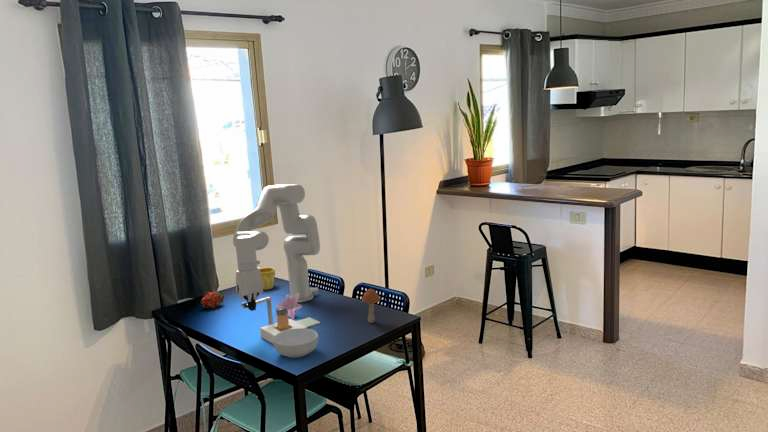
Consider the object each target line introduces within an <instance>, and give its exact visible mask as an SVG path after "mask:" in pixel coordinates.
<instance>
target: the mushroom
mask: <svg viewBox="0 0 768 432" xmlns="http://www.w3.org/2000/svg"><path fill="white" fill-rule="evenodd" d="M380 301H381V298H380V296H379V294H378V292H377V291H376V290H374V289H373V288H369V289H367V290H366V291H365V293H364V294H363V295H362V298H361V302H363V303H365V304H368V315H367V322H368V323H370V324H374V322H375V321H376V320H375V303H379V302H380Z"/></svg>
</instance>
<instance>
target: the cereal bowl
mask: <svg viewBox="0 0 768 432" xmlns="http://www.w3.org/2000/svg"><path fill="white" fill-rule="evenodd" d="M318 343H319V334H318V332H317V331H316V330H314V329H310V328H307V329H305V328H297V329H290V330H286V331H282V332H280V333H278V334H277V335H275V336H274V338H273V348H274V350H275V351H276V352H277V353H278V354H280V355H282V356H285V357H287V358H291V359H293V358H294V359H298V358H302V357H304V356H306V355H308V354H310V353H312V352H313V351H315V349H316V347H317V345H318Z"/></svg>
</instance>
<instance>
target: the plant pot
mask: <svg viewBox="0 0 768 432" xmlns="http://www.w3.org/2000/svg"><path fill="white" fill-rule="evenodd" d="M259 270H260V273H261V277H262V282H263V291H267V290H270V289H273V288H274V283H275V281H274V280H275V276H276V270H275V268H274V267H262V268H259Z"/></svg>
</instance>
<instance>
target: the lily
mask: <svg viewBox="0 0 768 432" xmlns="http://www.w3.org/2000/svg"><path fill="white" fill-rule="evenodd" d="M298 297H299V293H297V294H295V295H294V296H293V297H290V294H288V293H287V294H286V295H285V300H284V301H280V302H279V303H276V307H277V308H279V307H287V310H288V317H289V319H292V320H294V319H295V314H296V313H297V312H296V311H297V310H299V309H301V308H302V309H303V306H302V305H301V304H299V302H298V303H297V300H298Z"/></svg>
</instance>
